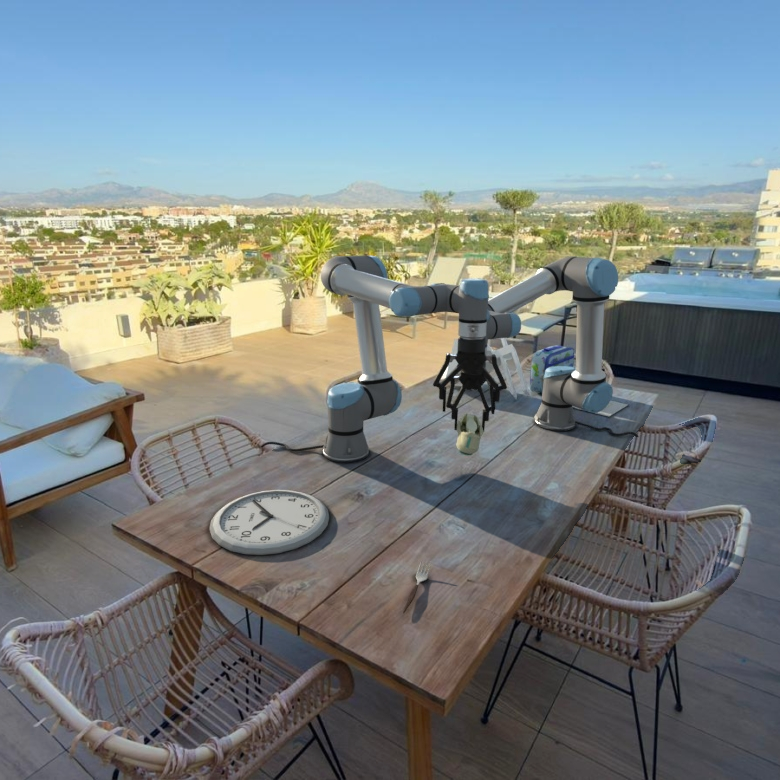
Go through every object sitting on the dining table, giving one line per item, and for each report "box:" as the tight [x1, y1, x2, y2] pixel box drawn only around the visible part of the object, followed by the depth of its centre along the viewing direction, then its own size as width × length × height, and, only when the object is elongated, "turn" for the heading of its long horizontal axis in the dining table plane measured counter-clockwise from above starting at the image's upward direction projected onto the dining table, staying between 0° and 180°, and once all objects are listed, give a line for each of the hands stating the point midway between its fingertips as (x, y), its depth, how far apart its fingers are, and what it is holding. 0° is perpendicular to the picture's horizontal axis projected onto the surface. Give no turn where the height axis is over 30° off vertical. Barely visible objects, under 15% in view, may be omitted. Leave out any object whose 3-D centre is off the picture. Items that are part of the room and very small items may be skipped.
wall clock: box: [209, 489, 330, 556], centre depth 135 cm, size 30×2×30 cm
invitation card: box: [573, 400, 629, 418], centre depth 226 cm, size 21×1×15 cm
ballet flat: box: [455, 413, 484, 456], centre depth 157 cm, size 8×25×8 cm, turn 173°
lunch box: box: [529, 345, 575, 394], centre depth 245 cm, size 26×11×21 cm, turn 134°
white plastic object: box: [438, 338, 531, 400], centre depth 245 cm, size 37×45×31 cm
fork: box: [402, 559, 432, 614], centre depth 109 cm, size 3×16×2 cm, turn 160°
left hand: (468, 411), depth 148 cm, fingers open, 13 cm apart
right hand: (469, 429), depth 166 cm, fingers closed on ballet flat, 8 cm apart
